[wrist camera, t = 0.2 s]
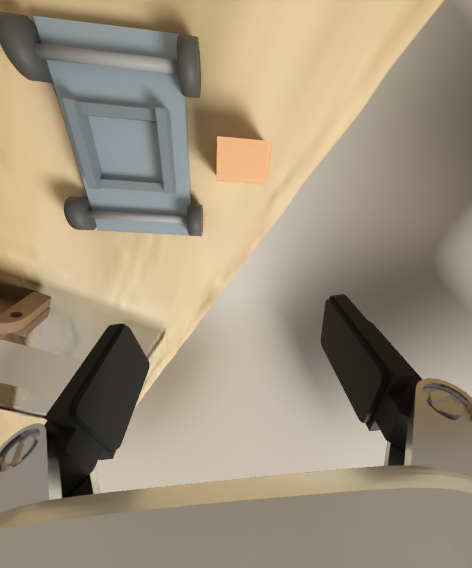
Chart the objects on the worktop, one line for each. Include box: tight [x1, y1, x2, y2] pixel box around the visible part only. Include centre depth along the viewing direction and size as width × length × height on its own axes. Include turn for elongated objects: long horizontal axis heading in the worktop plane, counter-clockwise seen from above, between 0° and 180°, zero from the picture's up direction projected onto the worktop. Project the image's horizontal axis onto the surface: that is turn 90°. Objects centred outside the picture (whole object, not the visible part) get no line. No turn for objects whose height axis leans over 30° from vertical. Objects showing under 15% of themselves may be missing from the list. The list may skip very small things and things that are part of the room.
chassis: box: [0, 12, 203, 236], centre depth 28 cm, size 24×20×5 cm
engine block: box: [216, 136, 273, 185], centre depth 29 cm, size 5×7×6 cm
